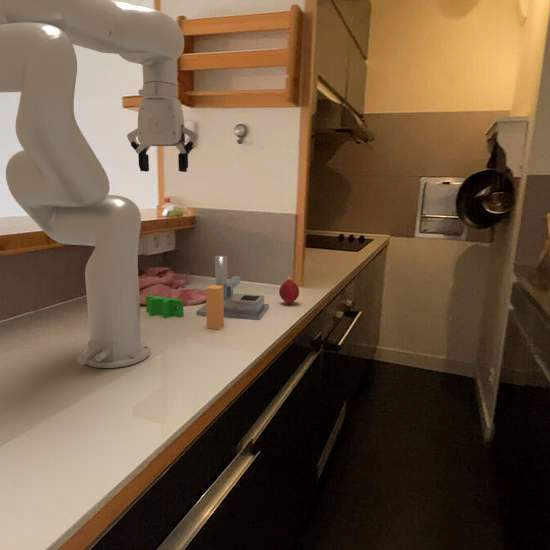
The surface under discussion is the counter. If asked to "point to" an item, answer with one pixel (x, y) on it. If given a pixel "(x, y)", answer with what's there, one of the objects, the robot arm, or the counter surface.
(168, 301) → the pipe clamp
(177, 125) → the robot arm
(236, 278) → the grey post stand
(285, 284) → the onion
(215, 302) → the orange rectangular block
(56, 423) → the counter surface
